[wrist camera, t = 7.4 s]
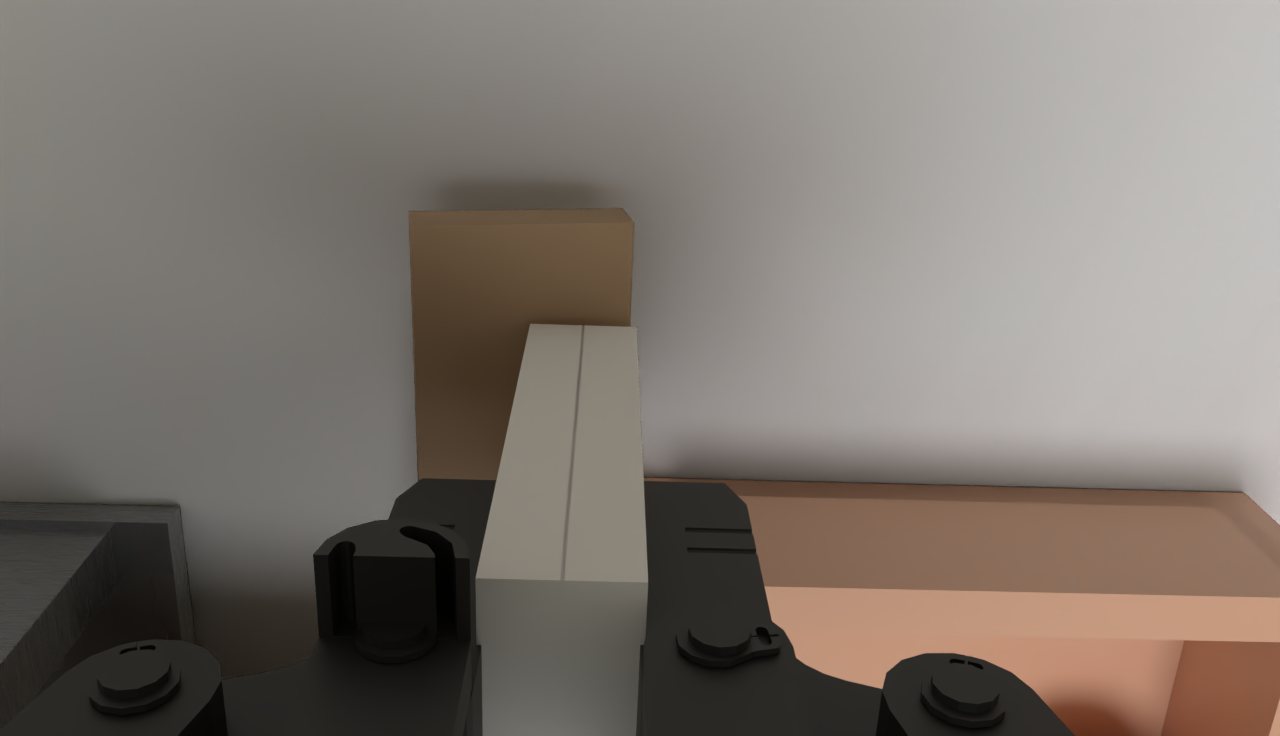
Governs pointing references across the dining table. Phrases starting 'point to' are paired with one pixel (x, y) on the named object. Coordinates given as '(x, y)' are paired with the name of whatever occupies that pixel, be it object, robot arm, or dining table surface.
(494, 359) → the lever
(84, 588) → the stand
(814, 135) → the dining table surface
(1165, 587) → the dish
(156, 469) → the dining table surface
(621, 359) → the robot arm
